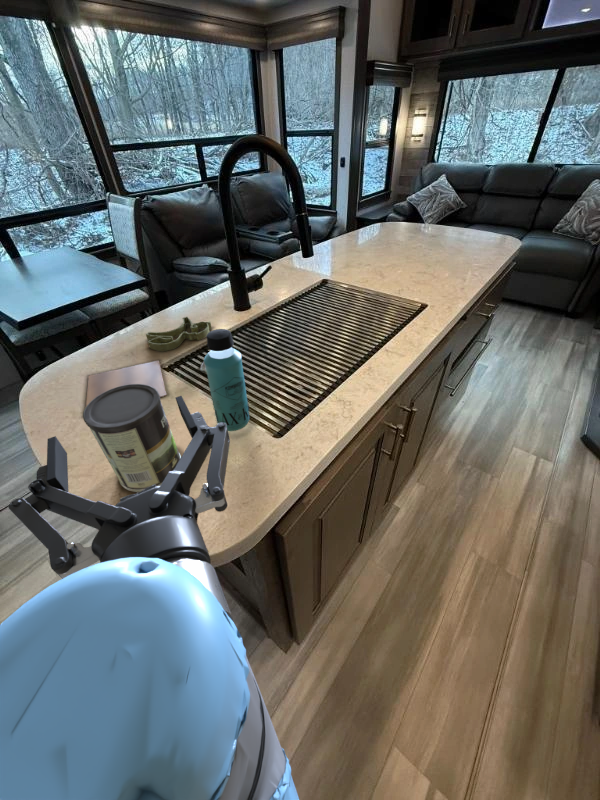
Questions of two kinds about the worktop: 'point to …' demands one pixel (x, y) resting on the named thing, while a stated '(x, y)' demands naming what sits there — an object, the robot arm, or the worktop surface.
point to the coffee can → (133, 435)
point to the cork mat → (126, 379)
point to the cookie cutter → (165, 339)
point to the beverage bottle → (226, 380)
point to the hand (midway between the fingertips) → (123, 423)
